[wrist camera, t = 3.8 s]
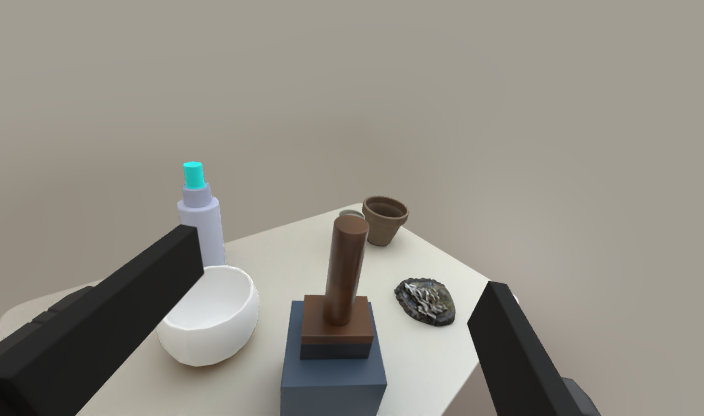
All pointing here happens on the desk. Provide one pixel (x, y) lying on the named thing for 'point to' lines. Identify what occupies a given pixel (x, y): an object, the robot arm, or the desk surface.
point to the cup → (211, 318)
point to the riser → (329, 378)
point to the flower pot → (383, 218)
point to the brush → (340, 300)
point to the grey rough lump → (426, 301)
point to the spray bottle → (202, 214)
